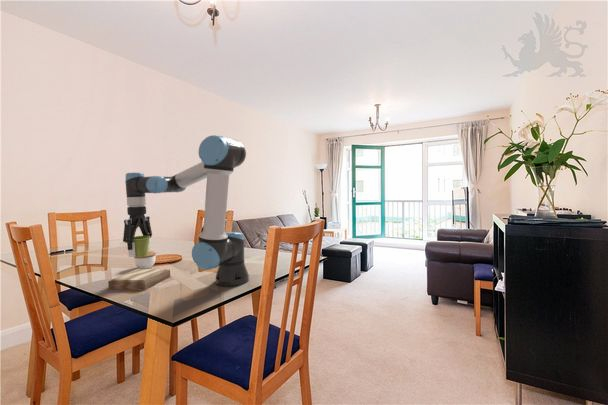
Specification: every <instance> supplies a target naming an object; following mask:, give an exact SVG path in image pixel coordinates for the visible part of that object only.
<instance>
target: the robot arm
mask: <svg viewBox="0 0 608 405" xmlns="http://www.w3.org/2000/svg"><path fill="white" fill-rule="evenodd" d="M198 157H199V159H200V161H201V162H199V163H197V164H194V165H192V166H190V167H189V168H186V169H183V171H180V172H178V173H176V174H174V175H171V176H161V175H160V176H159V175H153V176H145V174H144V172H127V173H125V181H124V183H125V191H126V192H125V193H126V194H125V195H126V205H127V208H126V210H127V211H126V213H127V215H128V216H129V217H128V218H129V219H124V220H123V224H124V226H123V227H124V229H123V238H122V242H123V243H125V244H127V245H126V247H127V250H128V252H127V253H128V258H134V257H135V242H133V240H134V237H136V233H137V229H138V228H139V229H140V232H141V235H142V236H150V238H149V239H151V238H152V236H153V231H152V227H151V226H152V225H151V222H150V216H145V215H146V214H147V207H146V204H147V199H146V198H147V197H146V194H161V193H163V194H164V193H182V192H184V191H185V190H186V189H187V187H190V186H192V185H194V184H196V183H198V182H201V181H203V180H205V179H206V184H205V185H206V186H205V202H204V215H203V226H202V227H203V228H202V229H203V230H202V232H200V233H199V234H198V242H197V243H195V244H194V246H193V247H192V249H191V257H192V260H193V262H194V263H195V265H196V266H197V267H198V268H200V269H202V270H206V271H208V270H212V269H216V268H217V272H216V275H215V278H214V279H215V284H216V285H217V286H221V287H234V286H239V285H244V284H246V283H247V282H249V280H250V277H249V276H250V274H249V272H248V269H247V266H246V264H245V239H244V233H243V232H240V231H226V222H227V221H226V220H227V209H228V207H227V206H228V195H229V194H228V193H229V184H230V183H229V181H230V176H231V174H232V173H234V169H235V168H237V167H239V166H241V165H242V164H243V163H244V162H245V159H246V157H247V151H246V148H245V146H244V145H243V144H242V143H241V142H240V141H239V140H236V139H233V138H232V139H231V138H229V137H225V136H223V135H216V134H215V135H213V134H212V135H209V136H207V137H205V138H204V139H203V140H202V141H201V142H200V144H199V146H198ZM130 239H131V240H130ZM148 252H150V242H149V243H148Z"/></svg>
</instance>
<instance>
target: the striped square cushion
mask: <svg viewBox="0 0 608 405" xmlns="http://www.w3.org/2000/svg"><path fill="white" fill-rule="evenodd" d="M169 278H171V270H170V269H162V268H157V269H156V268H149V269H139V268H136V269H134V270H132V271H129V272H127V273H124V274H122V275H119V276H116V277H113V279H112V278H111V279H110V280H108V282H107V284H108V290H130V289H132V291H133V289H138V290H137V291H147V290H148V288H149V289H150V288H152V287H154V286H156V285H157V284H160V283H162V282H163V281H165V280H167V279H169Z"/></svg>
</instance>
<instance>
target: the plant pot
mask: <svg viewBox="0 0 608 405" xmlns="http://www.w3.org/2000/svg"><path fill="white" fill-rule="evenodd" d="M150 239H151V238H150V236H143V235H138V236H137V235H135V236H134V240H133V242H135V257H139V256H146V255H147V254H148V243H149V244H150ZM130 240H131V239H130Z"/></svg>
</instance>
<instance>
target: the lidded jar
mask: <svg viewBox="0 0 608 405" xmlns="http://www.w3.org/2000/svg"><path fill="white" fill-rule="evenodd" d="M156 254H157V252H155V251H149V252H148V254H147V255H146V256H139V257H133V261H134V264H135V266H136V267H137V269H148V268H149V269H152V267H153V266H154V265H155V263H156V259H157V258H156V257H157V255H156Z"/></svg>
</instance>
